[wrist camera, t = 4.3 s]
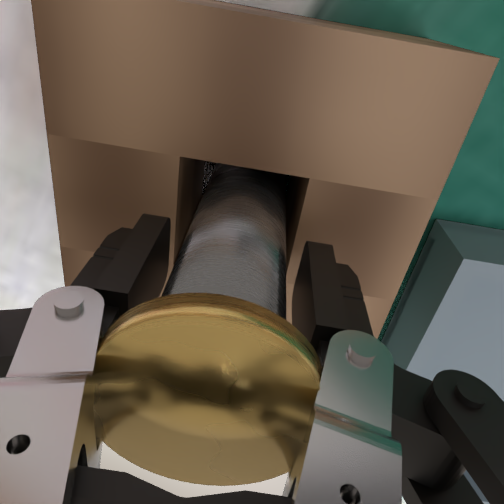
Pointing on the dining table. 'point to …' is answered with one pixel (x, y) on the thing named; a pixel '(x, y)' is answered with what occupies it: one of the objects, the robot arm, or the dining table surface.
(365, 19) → the dining table surface
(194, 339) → the pin
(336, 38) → the pin block
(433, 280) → the tray
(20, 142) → the dining table surface
